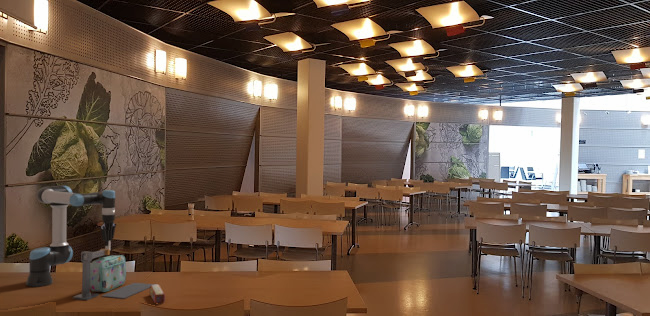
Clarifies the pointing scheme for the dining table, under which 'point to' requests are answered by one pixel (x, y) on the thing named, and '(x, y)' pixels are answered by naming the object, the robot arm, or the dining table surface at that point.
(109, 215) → the robot arm
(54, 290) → the dining table surface
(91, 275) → the lunch box
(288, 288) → the dining table surface
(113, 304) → the dining table surface
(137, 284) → the mat
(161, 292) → the snack package
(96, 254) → the bolt
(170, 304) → the dining table surface
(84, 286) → the latch post
